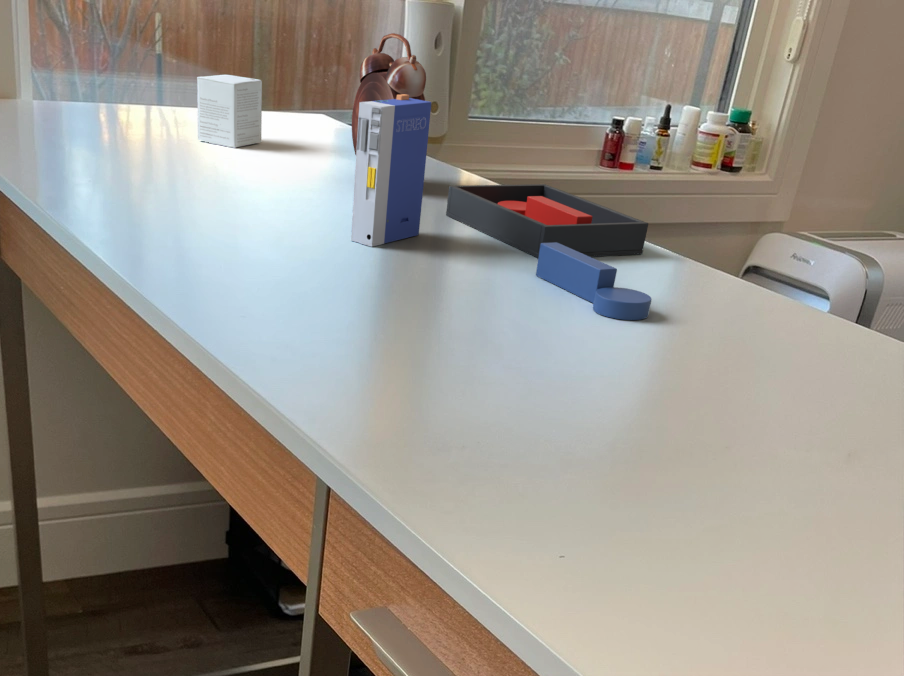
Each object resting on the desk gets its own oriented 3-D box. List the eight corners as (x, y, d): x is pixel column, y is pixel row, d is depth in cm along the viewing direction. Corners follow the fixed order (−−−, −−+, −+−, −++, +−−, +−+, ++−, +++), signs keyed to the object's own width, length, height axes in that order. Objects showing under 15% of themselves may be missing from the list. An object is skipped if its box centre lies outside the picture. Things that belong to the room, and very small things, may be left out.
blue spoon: (522, 276, 100) (527, 243, 98) (564, 273, 102) (569, 241, 100) (614, 322, 90) (621, 286, 89) (659, 318, 92) (667, 283, 90)
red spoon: (598, 246, 110) (604, 215, 109) (560, 247, 108) (565, 216, 107) (523, 214, 120) (528, 185, 118) (487, 215, 118) (491, 186, 117)
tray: (642, 254, 110) (648, 223, 109) (540, 259, 106) (545, 226, 104) (540, 212, 123) (545, 184, 122) (445, 215, 119) (449, 185, 117)
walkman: (396, 229, 111) (407, 93, 104) (419, 235, 110) (432, 97, 103) (348, 240, 106) (356, 97, 99) (371, 246, 105) (381, 102, 98)
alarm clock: (425, 193, 127) (440, 40, 119) (388, 194, 125) (401, 38, 116) (379, 173, 135) (390, 29, 126) (344, 174, 133) (352, 27, 124)
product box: (225, 136, 148) (225, 73, 144) (262, 143, 146) (263, 79, 142) (196, 141, 144) (195, 76, 140) (234, 148, 142) (234, 82, 137)
